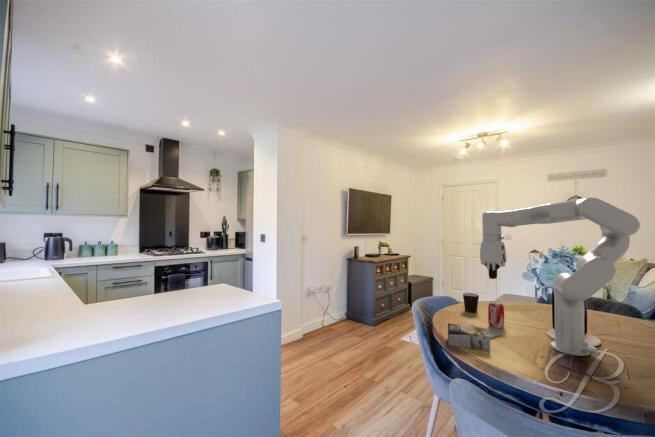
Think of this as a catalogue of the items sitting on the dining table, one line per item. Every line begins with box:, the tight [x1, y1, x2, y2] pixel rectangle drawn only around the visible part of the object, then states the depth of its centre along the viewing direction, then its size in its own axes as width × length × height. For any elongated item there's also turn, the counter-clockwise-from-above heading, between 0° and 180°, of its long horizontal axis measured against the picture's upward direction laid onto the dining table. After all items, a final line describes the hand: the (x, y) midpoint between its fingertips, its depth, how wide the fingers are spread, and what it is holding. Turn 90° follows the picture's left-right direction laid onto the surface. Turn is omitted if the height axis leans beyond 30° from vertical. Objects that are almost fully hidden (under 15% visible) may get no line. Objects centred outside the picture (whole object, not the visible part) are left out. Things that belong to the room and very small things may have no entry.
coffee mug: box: [462, 292, 480, 314], centre depth 174 cm, size 12×9×10 cm
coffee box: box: [447, 323, 491, 352], centre depth 128 cm, size 9×6×16 cm
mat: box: [467, 324, 502, 340], centre depth 140 cm, size 15×16×1 cm
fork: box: [560, 364, 620, 385], centre depth 102 cm, size 3×16×2 cm, turn 30°
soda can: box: [487, 300, 505, 329], centre depth 150 cm, size 7×7×12 cm
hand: (492, 278), depth 135 cm, fingers closed
